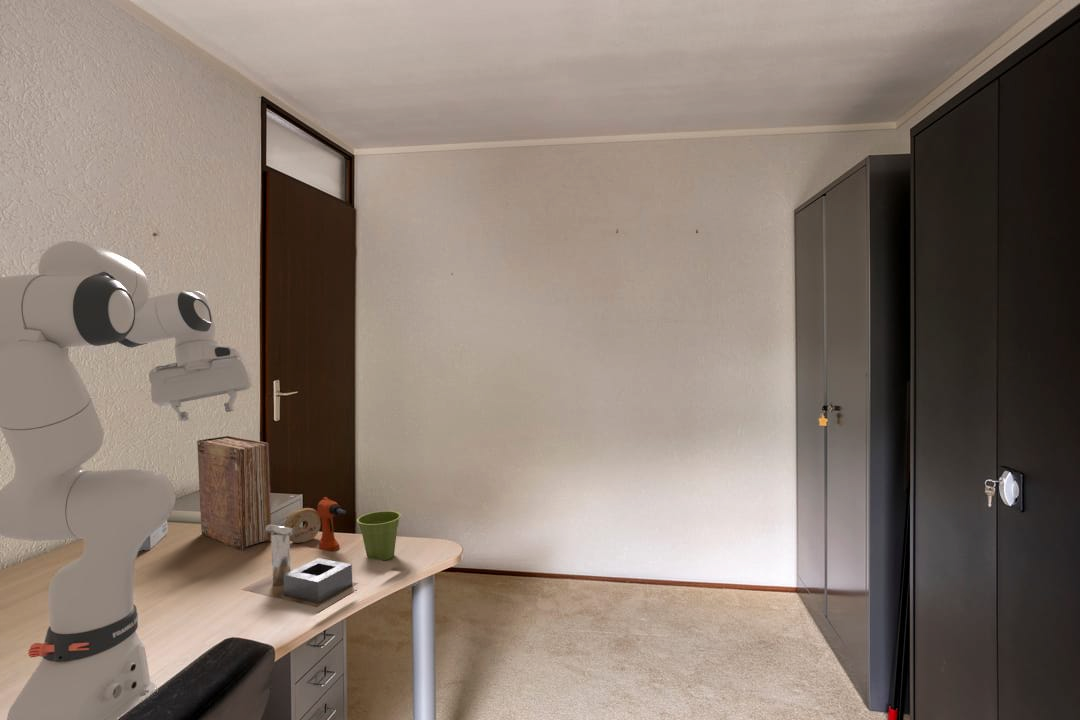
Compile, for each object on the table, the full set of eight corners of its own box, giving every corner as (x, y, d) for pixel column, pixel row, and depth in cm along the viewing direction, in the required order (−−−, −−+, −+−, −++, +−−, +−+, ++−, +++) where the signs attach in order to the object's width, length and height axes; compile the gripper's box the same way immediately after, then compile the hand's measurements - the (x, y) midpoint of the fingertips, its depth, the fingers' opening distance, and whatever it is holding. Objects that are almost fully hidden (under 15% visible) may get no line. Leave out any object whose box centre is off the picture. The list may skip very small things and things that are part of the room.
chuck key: (299, 581, 138) (297, 525, 138) (285, 587, 135) (283, 530, 134) (275, 576, 142) (273, 521, 141) (262, 582, 138) (260, 526, 137)
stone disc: (317, 535, 175) (316, 503, 175) (322, 538, 173) (321, 505, 172) (282, 544, 168) (281, 511, 168) (287, 547, 165) (286, 513, 165)
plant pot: (381, 546, 165) (379, 508, 164) (411, 553, 159) (410, 514, 158) (348, 560, 155) (347, 520, 154) (379, 569, 149) (378, 526, 148)
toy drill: (339, 559, 152) (335, 503, 153) (316, 549, 166) (312, 497, 167) (357, 554, 155) (352, 499, 156) (332, 544, 169) (328, 494, 170)
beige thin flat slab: (358, 589, 137) (358, 583, 137) (317, 613, 125) (317, 607, 125) (285, 574, 146) (285, 568, 146) (241, 595, 134) (241, 589, 134)
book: (272, 541, 171) (268, 443, 170) (241, 551, 163) (237, 448, 162) (231, 526, 186) (227, 435, 185) (201, 534, 178) (197, 440, 177)
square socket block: (352, 584, 136) (351, 564, 136) (318, 604, 126) (317, 582, 126) (319, 577, 140) (318, 558, 140) (284, 596, 130) (283, 574, 130)
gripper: (142, 364, 126) (149, 423, 123) (242, 346, 132) (251, 403, 129) (153, 371, 132) (160, 428, 129) (248, 354, 138) (257, 408, 135)
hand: (207, 415), depth 129 cm, fingers open, 8 cm apart
